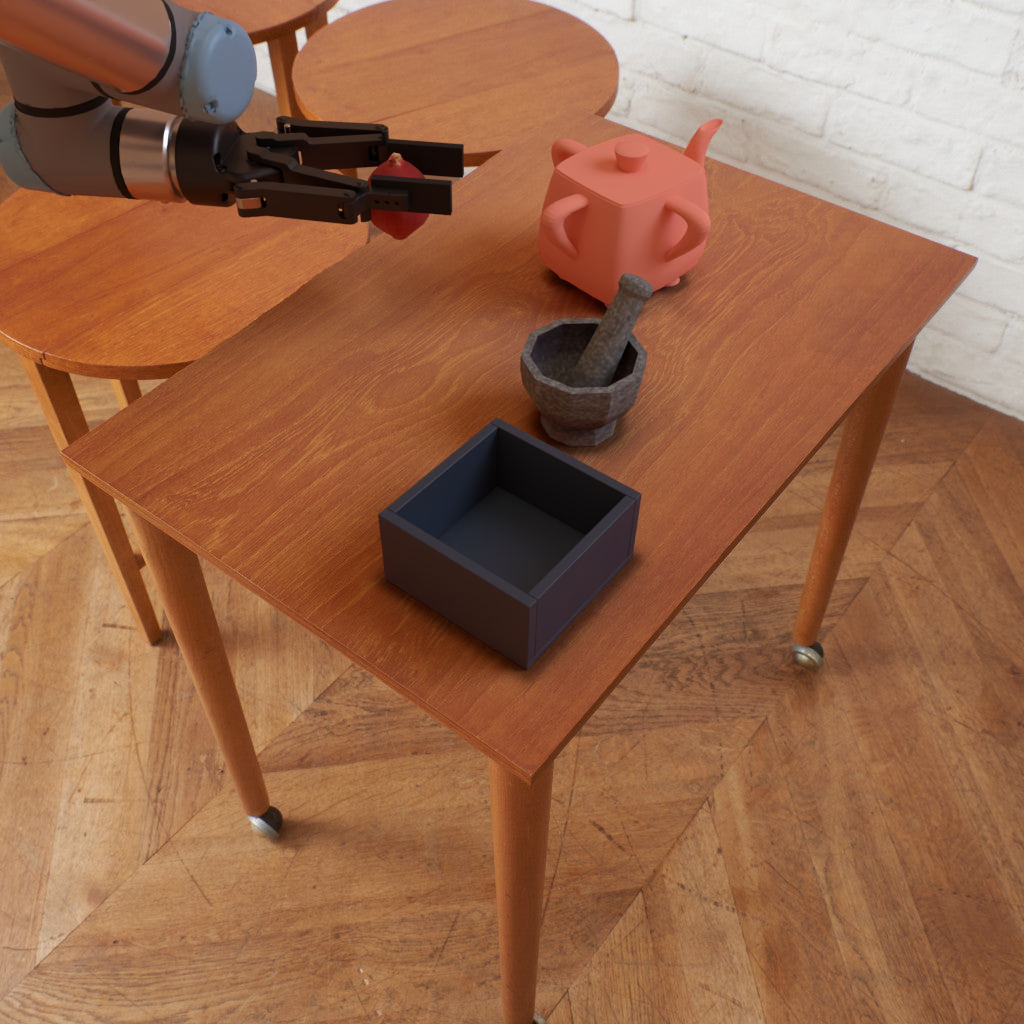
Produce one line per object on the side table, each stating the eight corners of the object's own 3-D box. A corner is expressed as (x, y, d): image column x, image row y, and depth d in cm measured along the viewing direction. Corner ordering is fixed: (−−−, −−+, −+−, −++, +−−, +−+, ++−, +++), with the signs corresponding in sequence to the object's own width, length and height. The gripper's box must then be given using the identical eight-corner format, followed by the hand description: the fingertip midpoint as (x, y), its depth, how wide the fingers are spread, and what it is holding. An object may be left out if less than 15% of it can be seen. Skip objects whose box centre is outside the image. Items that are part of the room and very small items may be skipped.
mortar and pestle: (571, 479, 81) (581, 354, 72) (496, 416, 86) (496, 293, 77) (674, 419, 86) (694, 296, 78) (596, 363, 91) (608, 242, 82)
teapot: (536, 321, 95) (542, 189, 86) (537, 229, 106) (542, 102, 97) (720, 327, 95) (746, 195, 86) (702, 233, 106) (724, 107, 97)
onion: (361, 226, 94) (353, 140, 88) (424, 217, 95) (420, 132, 89) (374, 260, 90) (367, 173, 84) (440, 250, 91) (437, 163, 85)
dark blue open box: (526, 670, 69) (529, 607, 64) (384, 579, 74) (377, 514, 69) (632, 558, 76) (642, 493, 71) (496, 481, 81) (496, 416, 76)
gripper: (229, 149, 98) (474, 167, 97) (159, 256, 85) (440, 279, 84) (214, 69, 93) (473, 87, 91) (137, 170, 80) (436, 193, 78)
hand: (456, 179), depth 88 cm, fingers closed on onion, 6 cm apart
